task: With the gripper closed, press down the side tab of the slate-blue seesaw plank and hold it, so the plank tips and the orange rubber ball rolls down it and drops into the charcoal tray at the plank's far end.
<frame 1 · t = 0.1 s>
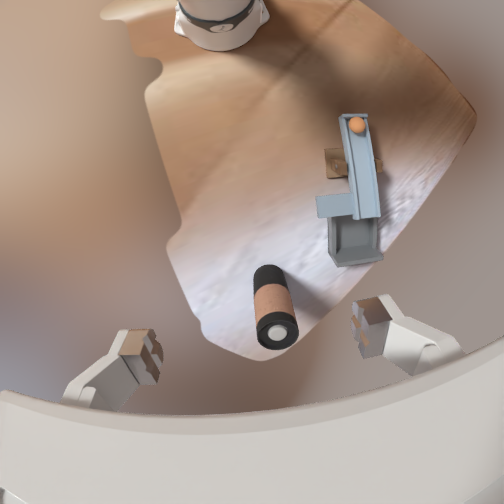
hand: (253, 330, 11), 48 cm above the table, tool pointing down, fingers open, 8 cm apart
ball: (357, 124, 45), point 6 cm above the table, tilted 10°, touching lever
lever: (344, 166, 48), point 7 cm above the table, hinge at -15.3°, touching ball
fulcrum: (348, 161, 54), on the table
tray: (350, 225, 60), on the table
travel mug: (268, 277, 66), on the table
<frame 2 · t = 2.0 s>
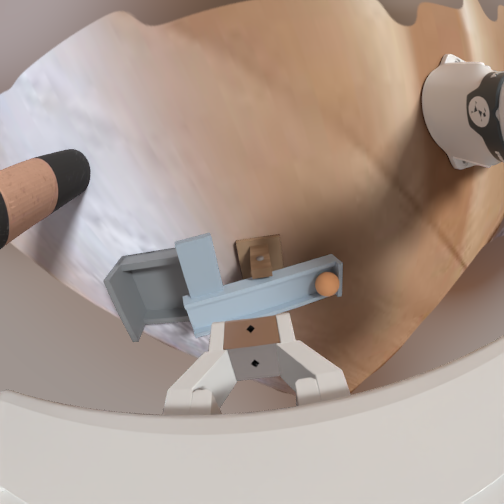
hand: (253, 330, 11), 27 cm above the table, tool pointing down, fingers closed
ball: (327, 284, 35), point 6 cm above the table, tilted 11°, touching lever
lever: (263, 273, 33), point 7 cm above the table, hinge at -15.2°, touching ball
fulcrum: (262, 269, 41), on the table
tray: (167, 282, 41), on the table
travel mug: (72, 172, 33), on the table
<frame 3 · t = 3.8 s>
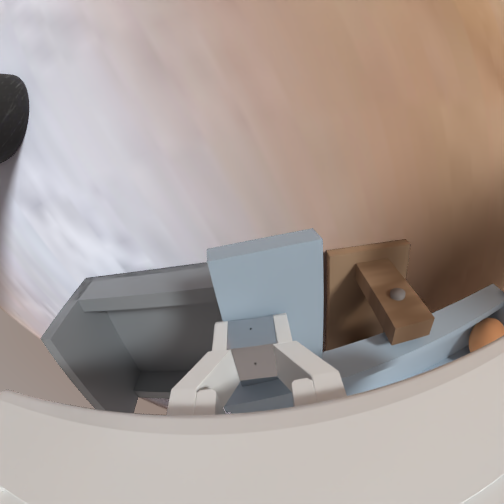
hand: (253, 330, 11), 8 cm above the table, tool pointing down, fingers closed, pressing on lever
ball: (487, 339, 13), point 7 cm above the table, touching lever
lever: (411, 331, 12), point 7 cm above the table, hinge at -7.9°, touching ball, gripper
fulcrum: (363, 305, 20), on the table
tray: (175, 329, 21), on the table
travel mug: (3, 118, 12), on the table
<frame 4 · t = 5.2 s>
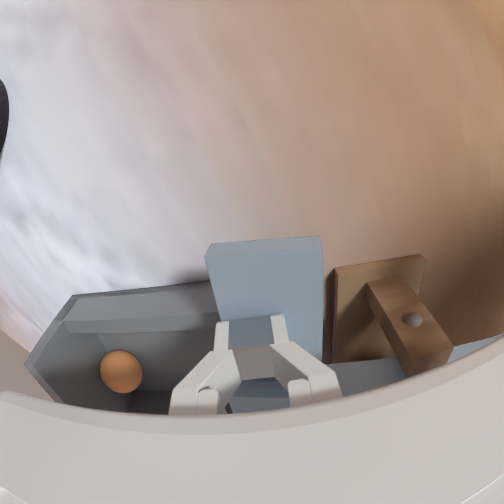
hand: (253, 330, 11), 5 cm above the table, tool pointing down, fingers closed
ball: (121, 371, 17), point 2 cm above the table, tilted 113°, touching tray
lever: (424, 363, 10), point 7 cm above the table, hinge at 9.0°, touching gripper
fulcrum: (372, 324, 18), on the table
tray: (168, 350, 19), on the table
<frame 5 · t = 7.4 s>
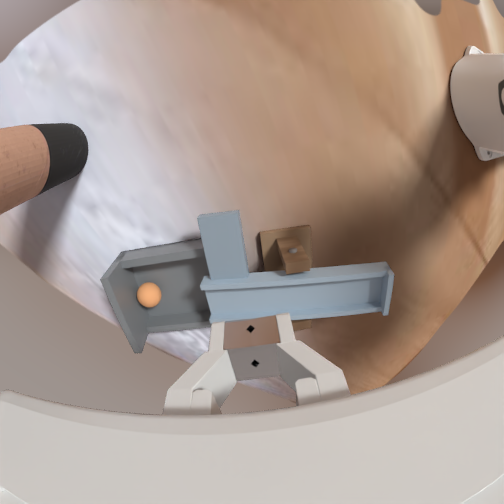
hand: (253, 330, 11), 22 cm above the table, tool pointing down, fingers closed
ball: (149, 294, 33), point 2 cm above the table, tilted 123°, touching tray
lever: (296, 268, 28), point 7 cm above the table, hinge at 9.0°
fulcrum: (288, 266, 35), on the table
tray: (174, 282, 35), on the table
travel mug: (66, 151, 27), on the table
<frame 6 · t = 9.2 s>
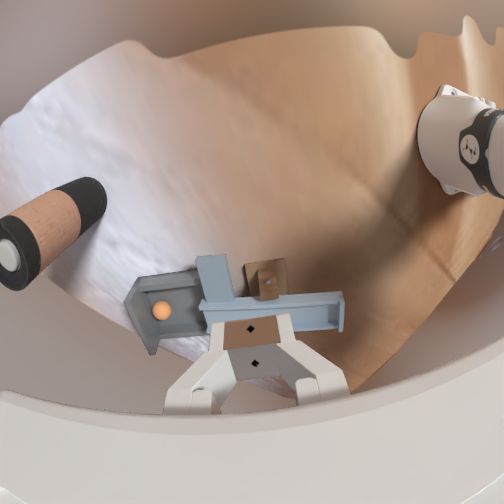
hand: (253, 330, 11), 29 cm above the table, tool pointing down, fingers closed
ball: (161, 310, 43), point 2 cm above the table, tilted 130°, touching tray
lever: (268, 296, 37), point 7 cm above the table, hinge at 9.0°
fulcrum: (268, 289, 45), on the table
tray: (180, 300, 45), on the table
travel mug: (88, 198, 37), on the table
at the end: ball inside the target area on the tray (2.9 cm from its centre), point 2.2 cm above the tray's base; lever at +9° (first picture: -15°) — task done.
